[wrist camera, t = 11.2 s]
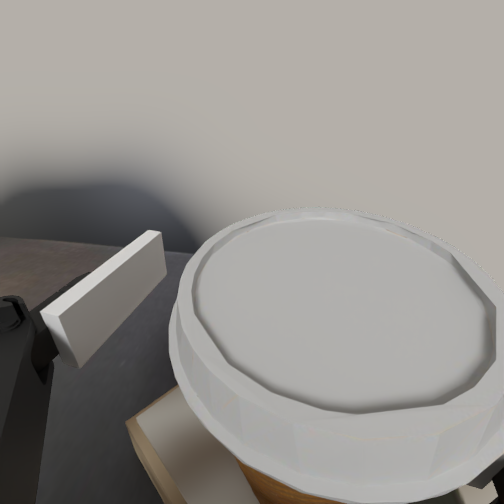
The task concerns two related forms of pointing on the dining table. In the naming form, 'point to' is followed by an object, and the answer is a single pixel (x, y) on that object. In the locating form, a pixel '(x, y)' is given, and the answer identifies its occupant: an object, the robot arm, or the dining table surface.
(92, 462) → the dining table surface
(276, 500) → the disposable coffee cup
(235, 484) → the plinth
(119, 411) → the dining table surface
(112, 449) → the dining table surface
